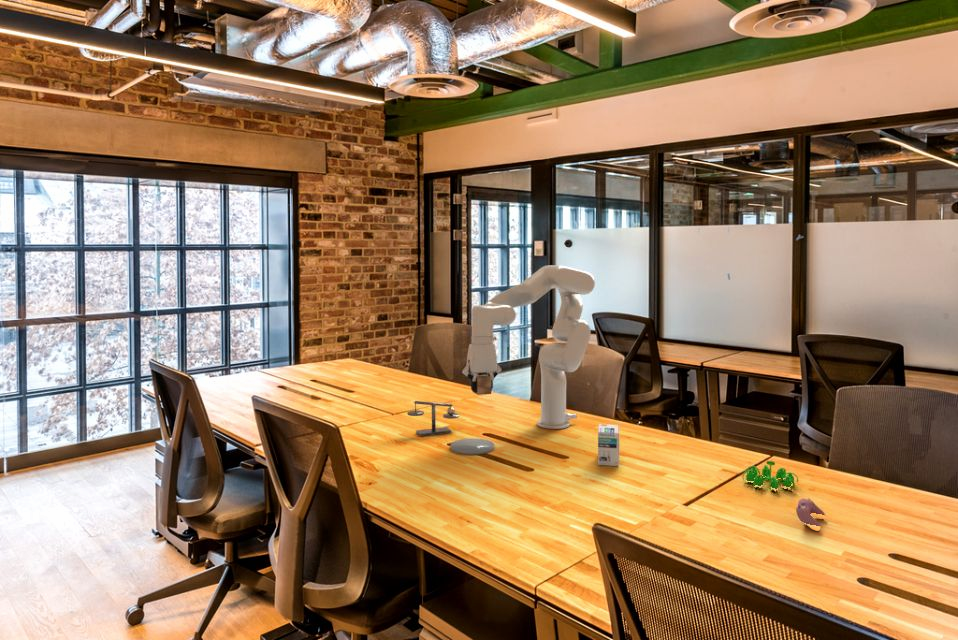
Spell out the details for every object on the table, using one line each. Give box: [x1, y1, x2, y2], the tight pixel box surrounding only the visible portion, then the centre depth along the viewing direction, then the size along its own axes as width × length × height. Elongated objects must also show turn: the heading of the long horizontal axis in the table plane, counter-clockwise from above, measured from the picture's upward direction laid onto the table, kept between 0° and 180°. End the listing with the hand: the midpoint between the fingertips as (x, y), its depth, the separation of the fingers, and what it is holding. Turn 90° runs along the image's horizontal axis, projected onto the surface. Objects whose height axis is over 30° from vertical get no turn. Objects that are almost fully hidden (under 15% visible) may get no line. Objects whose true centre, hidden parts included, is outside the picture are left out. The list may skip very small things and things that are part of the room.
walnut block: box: [472, 374, 492, 396], centre depth 238 cm, size 5×5×6 cm
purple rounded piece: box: [795, 498, 826, 526], centre depth 167 cm, size 10×5×7 cm, turn 146°
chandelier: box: [742, 460, 799, 489], centre depth 194 cm, size 15×15×7 cm
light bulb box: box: [597, 423, 620, 467], centre depth 216 cm, size 11×7×11 cm, turn 168°
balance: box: [406, 400, 460, 437], centre depth 249 cm, size 20×6×13 cm, turn 113°
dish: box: [450, 437, 495, 456], centre depth 230 cm, size 15×15×1 cm
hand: (481, 390), depth 239 cm, fingers closed on walnut block, 5 cm apart
